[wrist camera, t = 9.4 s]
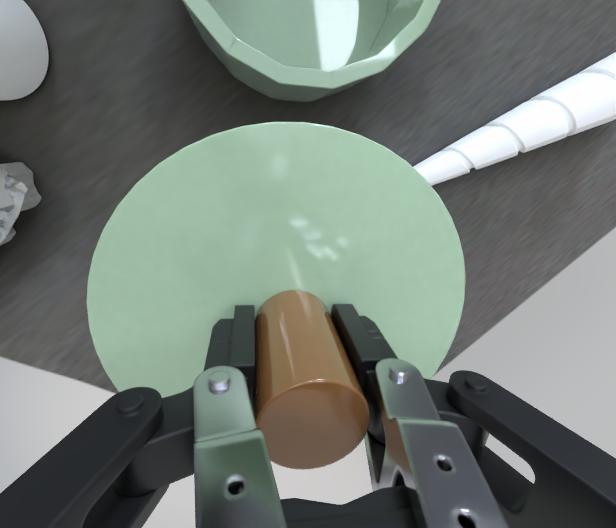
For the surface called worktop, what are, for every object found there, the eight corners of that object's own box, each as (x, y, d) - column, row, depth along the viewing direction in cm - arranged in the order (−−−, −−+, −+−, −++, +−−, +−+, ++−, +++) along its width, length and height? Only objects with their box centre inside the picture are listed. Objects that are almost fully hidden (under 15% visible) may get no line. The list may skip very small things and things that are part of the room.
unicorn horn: (335, 161, 25) (353, 167, 21) (620, 42, 25) (699, 22, 21) (353, 217, 27) (374, 234, 22) (619, 106, 27) (691, 100, 23)
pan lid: (64, 104, 10) (-176, 65, 4) (488, 138, 12) (680, 139, 7) (126, 450, 15) (52, 634, 10) (417, 426, 18) (494, 562, 12)
